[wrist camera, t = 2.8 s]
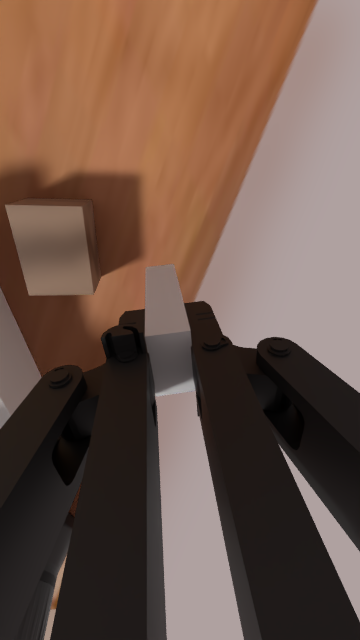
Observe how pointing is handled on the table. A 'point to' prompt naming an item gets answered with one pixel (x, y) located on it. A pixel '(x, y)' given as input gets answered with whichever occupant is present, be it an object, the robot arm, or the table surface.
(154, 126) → the table surface
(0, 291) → the grey board
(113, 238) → the table surface
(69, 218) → the walnut block
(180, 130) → the table surface
